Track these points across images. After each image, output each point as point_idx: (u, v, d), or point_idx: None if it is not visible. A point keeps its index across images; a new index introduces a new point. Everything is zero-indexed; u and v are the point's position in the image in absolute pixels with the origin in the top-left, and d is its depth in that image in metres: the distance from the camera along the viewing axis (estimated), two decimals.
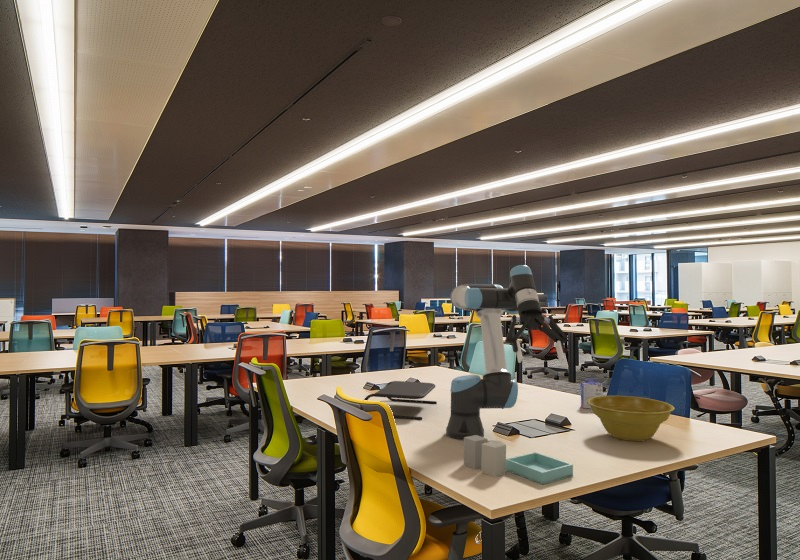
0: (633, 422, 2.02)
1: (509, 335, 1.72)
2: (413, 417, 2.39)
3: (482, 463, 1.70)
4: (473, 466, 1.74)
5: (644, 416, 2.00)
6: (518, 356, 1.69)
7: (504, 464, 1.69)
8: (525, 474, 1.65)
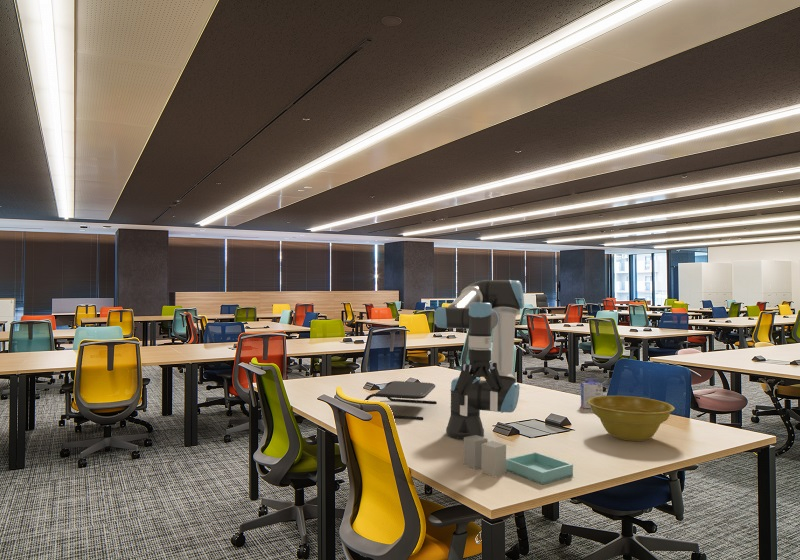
0: (633, 422, 2.02)
1: (460, 390, 1.71)
2: (414, 417, 2.39)
3: (482, 463, 1.70)
4: (473, 466, 1.74)
5: (644, 416, 2.00)
6: (462, 410, 1.73)
7: (504, 464, 1.69)
8: (525, 474, 1.65)
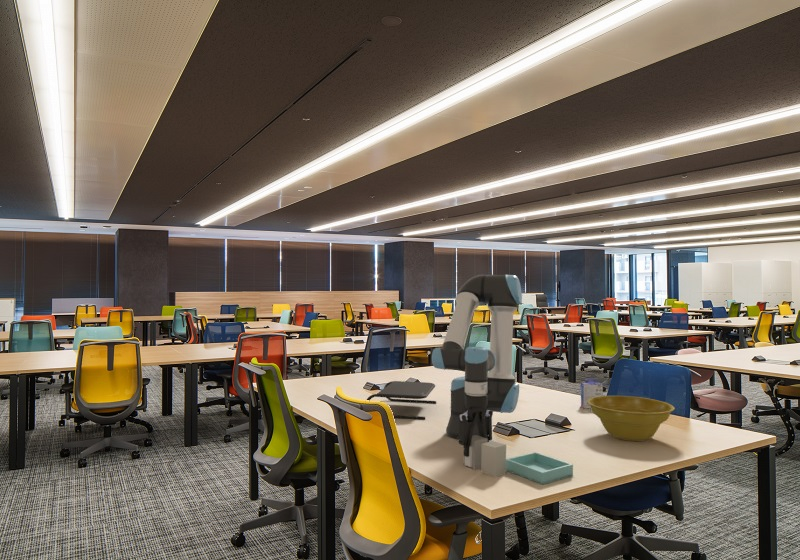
0: (633, 422, 2.02)
1: (464, 441, 1.73)
2: (416, 417, 2.39)
3: (482, 463, 1.70)
4: (473, 466, 1.73)
5: (644, 416, 2.00)
6: (467, 461, 1.75)
7: (504, 464, 1.69)
8: (525, 474, 1.65)
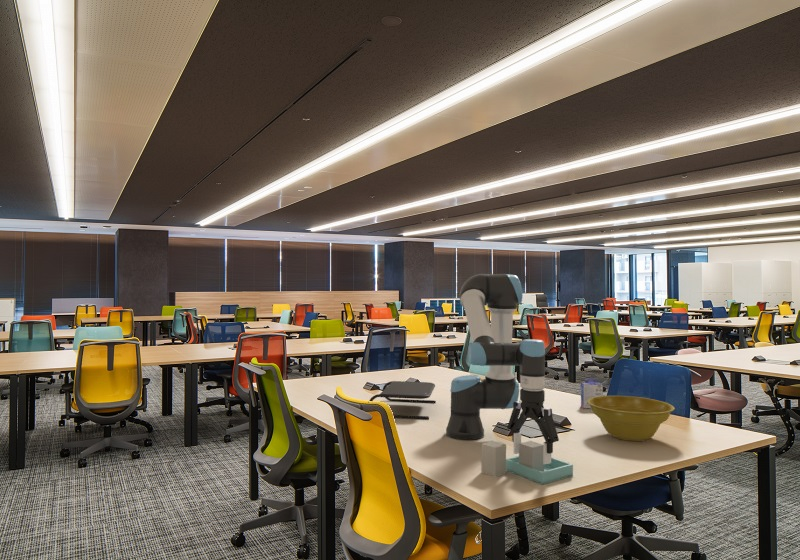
0: (633, 422, 2.02)
1: (509, 425, 1.75)
2: (420, 417, 2.40)
3: (482, 463, 1.70)
4: None
5: (644, 416, 2.00)
6: None
7: (504, 464, 1.69)
8: (525, 474, 1.65)
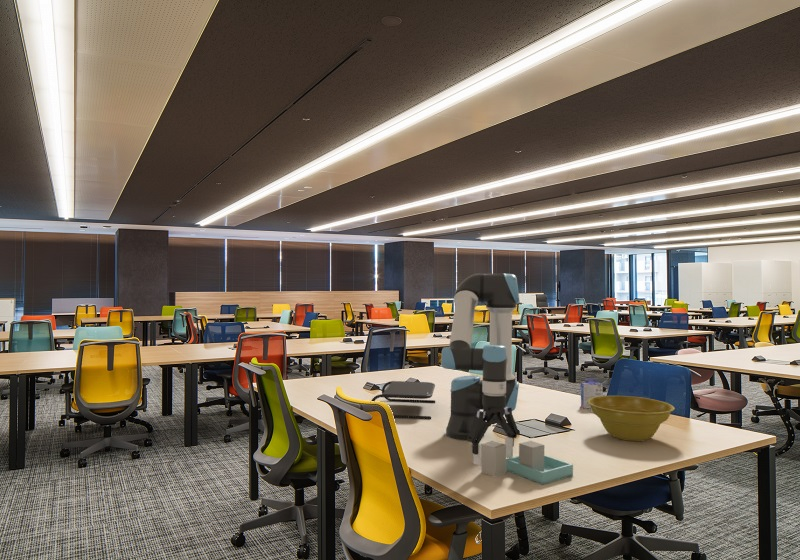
0: (633, 422, 2.02)
1: (474, 438, 1.63)
2: (422, 417, 2.40)
3: (482, 463, 1.70)
4: None
5: (644, 416, 2.00)
6: (476, 459, 1.66)
7: (504, 464, 1.69)
8: (525, 474, 1.65)
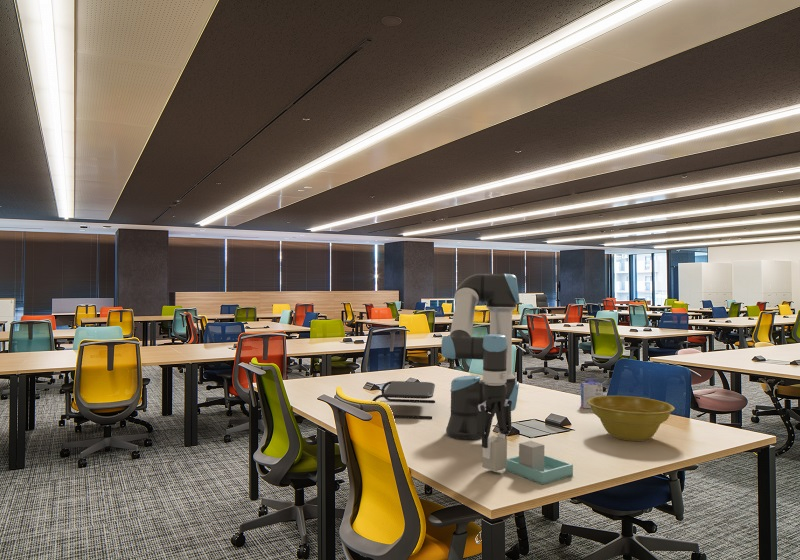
0: (633, 422, 2.02)
1: (483, 432, 1.66)
2: (423, 416, 2.40)
3: (483, 458, 1.70)
4: None
5: (644, 416, 2.00)
6: (485, 452, 1.69)
7: (505, 459, 1.70)
8: (525, 474, 1.65)
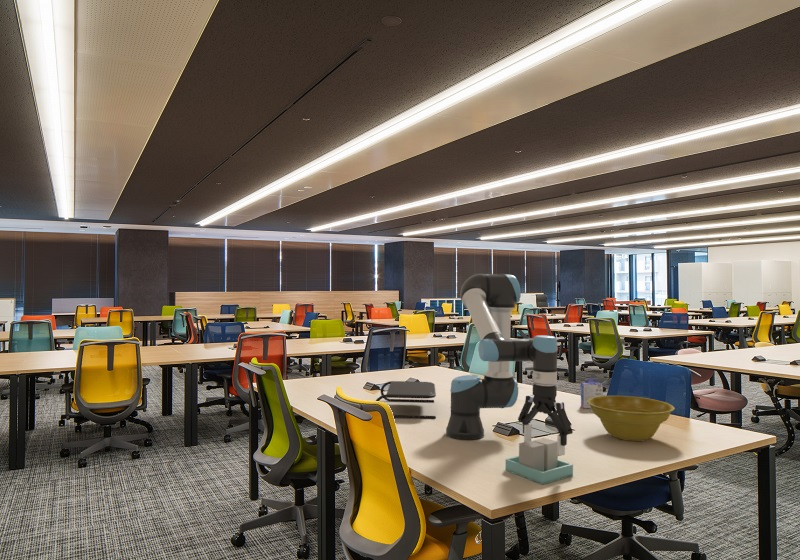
0: (633, 422, 2.02)
1: (519, 417, 1.80)
2: (427, 416, 2.41)
3: None
4: None
5: (644, 416, 2.00)
6: None
7: (546, 463, 1.68)
8: (525, 474, 1.65)
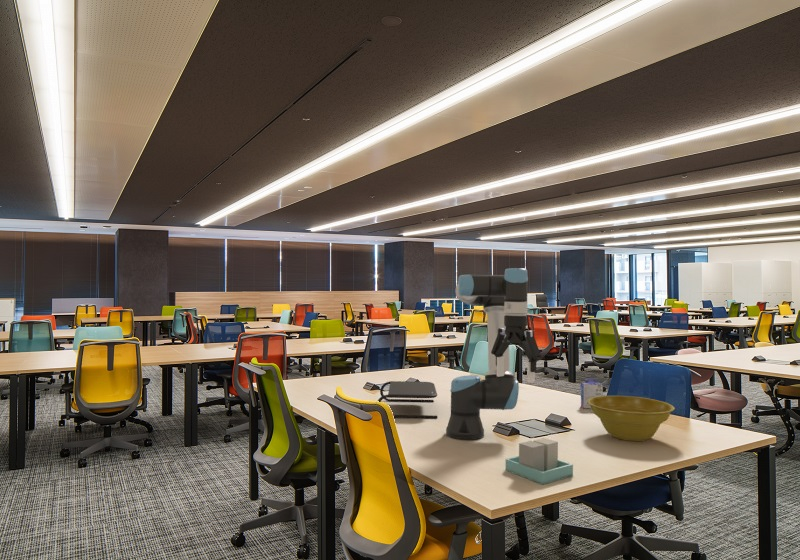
0: (633, 422, 2.02)
1: (492, 350, 1.84)
2: (428, 416, 2.41)
3: None
4: None
5: (644, 416, 2.00)
6: None
7: (546, 463, 1.68)
8: (525, 474, 1.65)
